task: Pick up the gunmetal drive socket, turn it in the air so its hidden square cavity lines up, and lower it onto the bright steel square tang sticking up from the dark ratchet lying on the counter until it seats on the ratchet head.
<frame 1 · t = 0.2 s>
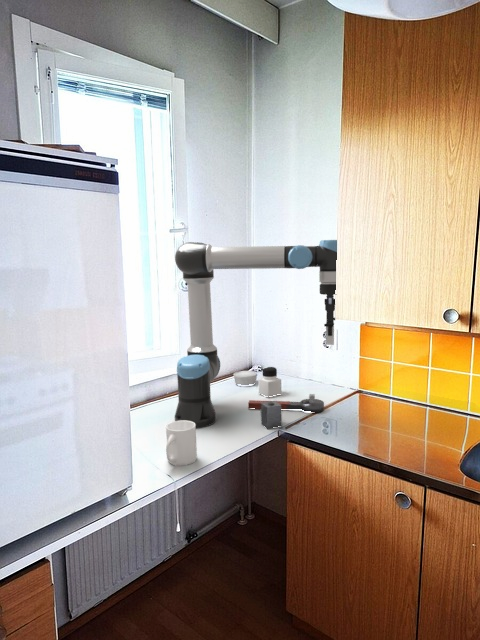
hand: (329, 341, 171), 27 cm above the countertop, fingers open, 13 cm apart
medicine bottle: (270, 395, 199), on the countertop
mug: (179, 463, 136), on the countertop
ramekin: (245, 384, 217), on the countertop
socket: (271, 425, 164), on the countertop
ratchet: (312, 409, 179), on the countertop
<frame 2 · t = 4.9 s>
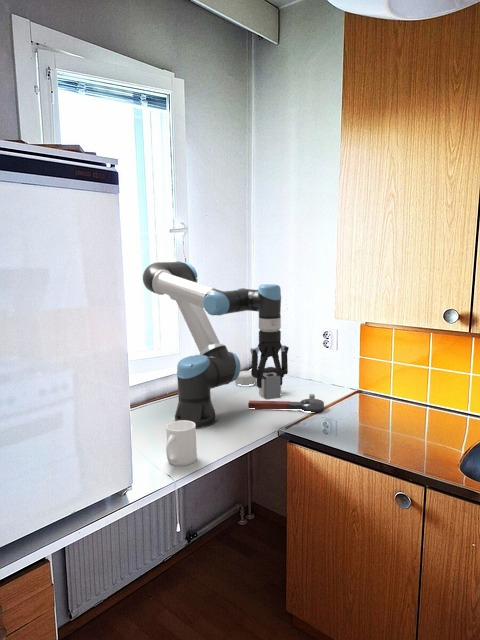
hand: (269, 395, 162), 11 cm above the countertop, fingers closed on socket, 5 cm apart
socket: (270, 396, 162), point 11 cm above the countertop, touching gripper
everything else where it was.
when the fingers open (4 cm above the countertop, at t = 8.3 s): socket stays where it is, resting on ratchet.
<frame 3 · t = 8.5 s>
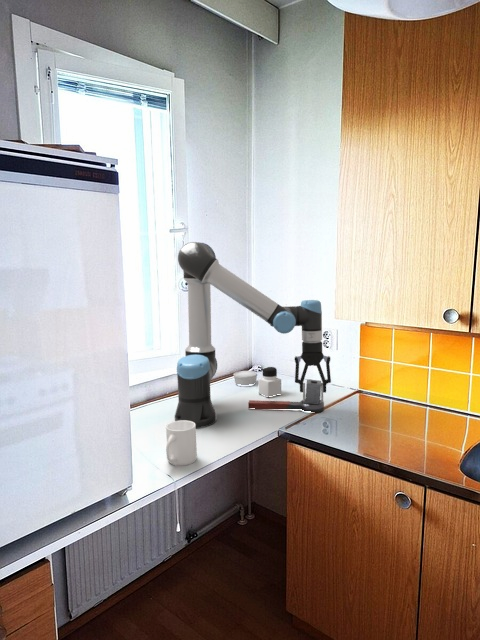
hand: (313, 400, 178), 4 cm above the countertop, fingers open, 6 cm apart
socket: (312, 401, 178), point 3 cm above the countertop, touching gripper, ratchet
everything else where it was.
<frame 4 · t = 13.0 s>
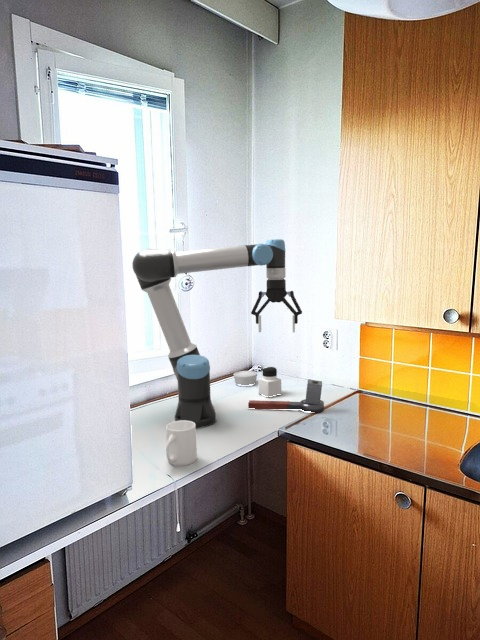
hand: (276, 331, 187), 29 cm above the countertop, fingers open, 13 cm apart
socket: (312, 401, 178), point 3 cm above the countertop, tilted 7°, touching ratchet
everything else where it was.
at the end: socket 0.4 cm off-centre on the ratchet, point 3.3 cm above the ratchet's base; socket tilted 7°; the gripper is holding nothing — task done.
